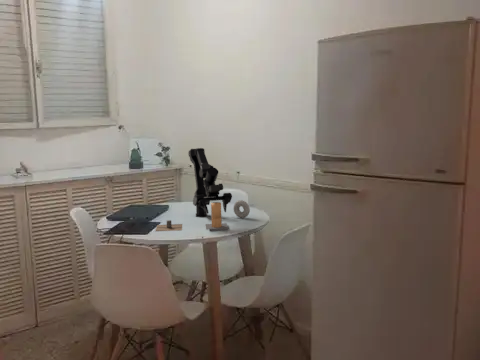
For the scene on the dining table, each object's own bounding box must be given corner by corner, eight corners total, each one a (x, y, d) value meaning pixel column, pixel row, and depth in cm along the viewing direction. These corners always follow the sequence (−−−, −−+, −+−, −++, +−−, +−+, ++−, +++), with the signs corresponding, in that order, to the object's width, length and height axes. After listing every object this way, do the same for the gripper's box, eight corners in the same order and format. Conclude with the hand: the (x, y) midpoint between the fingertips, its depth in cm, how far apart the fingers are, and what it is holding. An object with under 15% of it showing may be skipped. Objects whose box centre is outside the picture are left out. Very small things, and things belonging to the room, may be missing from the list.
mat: (205, 226, 257) (205, 224, 257) (226, 225, 258) (226, 223, 258) (206, 231, 246) (206, 229, 246) (228, 230, 248) (228, 228, 247)
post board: (157, 226, 257) (156, 218, 256) (182, 225, 258) (182, 217, 257) (155, 233, 244) (155, 224, 243) (182, 232, 245) (181, 223, 245)
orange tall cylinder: (209, 226, 252) (209, 203, 250) (216, 224, 256) (216, 201, 254) (216, 227, 249) (216, 204, 247) (223, 226, 252) (223, 202, 251)
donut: (232, 217, 276) (232, 200, 274) (235, 216, 279) (235, 198, 277) (247, 219, 270) (247, 201, 269) (251, 218, 273) (250, 200, 272)
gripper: (195, 179, 250) (201, 205, 241) (230, 177, 256) (237, 202, 247) (192, 192, 259) (197, 217, 250) (226, 189, 264) (233, 214, 256)
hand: (216, 212), depth 250 cm, fingers open, 9 cm apart
